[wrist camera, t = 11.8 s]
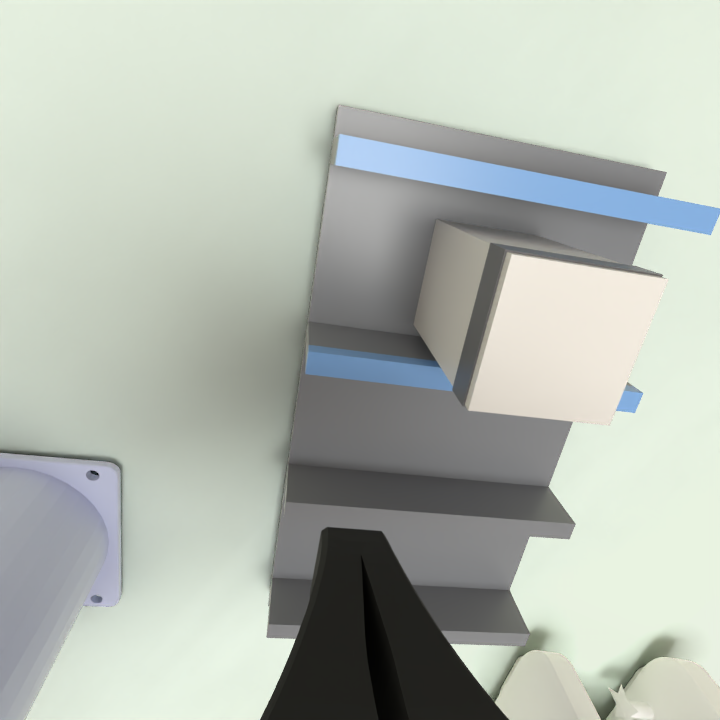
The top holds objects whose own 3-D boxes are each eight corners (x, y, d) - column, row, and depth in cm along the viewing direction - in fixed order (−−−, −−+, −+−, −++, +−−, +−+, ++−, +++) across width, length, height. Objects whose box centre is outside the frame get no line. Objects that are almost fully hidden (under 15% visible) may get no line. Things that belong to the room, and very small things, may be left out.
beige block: (411, 325, 19) (465, 411, 12) (435, 217, 17) (510, 251, 11) (510, 338, 20) (611, 427, 13) (541, 235, 18) (671, 277, 12)
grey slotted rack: (269, 589, 25) (263, 667, 21) (337, 107, 17) (346, 92, 13) (492, 599, 26) (524, 673, 23) (649, 171, 19) (736, 174, 15)
